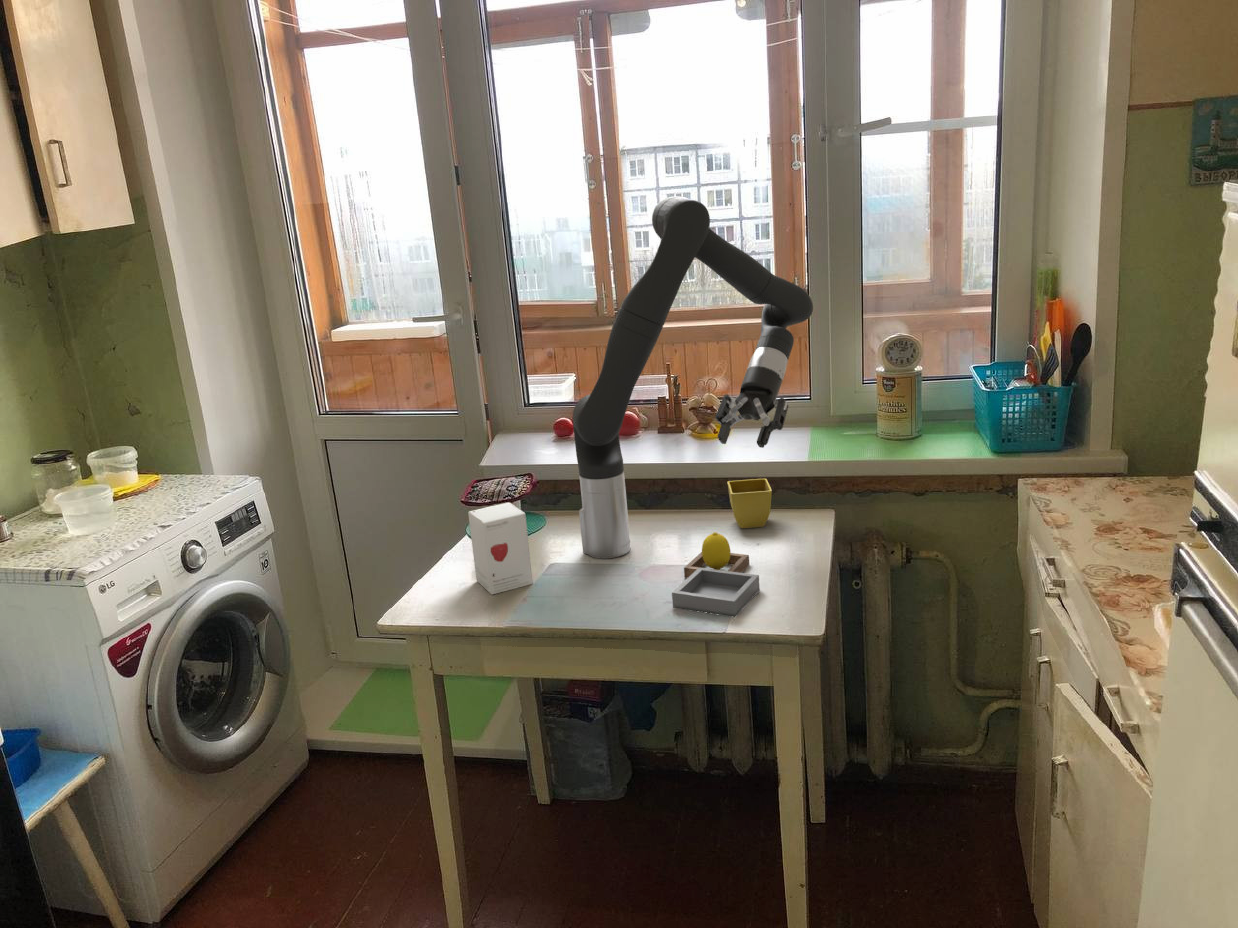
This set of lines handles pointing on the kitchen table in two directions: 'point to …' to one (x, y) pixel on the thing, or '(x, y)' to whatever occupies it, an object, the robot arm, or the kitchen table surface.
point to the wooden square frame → (735, 559)
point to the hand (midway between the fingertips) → (740, 443)
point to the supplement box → (500, 547)
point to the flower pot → (750, 502)
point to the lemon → (716, 551)
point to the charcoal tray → (716, 592)
